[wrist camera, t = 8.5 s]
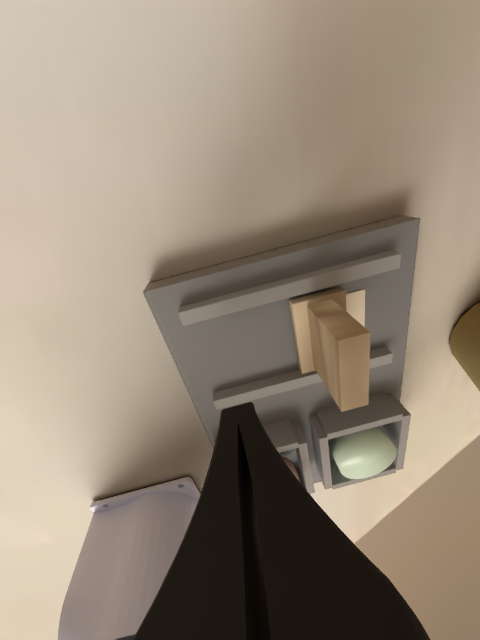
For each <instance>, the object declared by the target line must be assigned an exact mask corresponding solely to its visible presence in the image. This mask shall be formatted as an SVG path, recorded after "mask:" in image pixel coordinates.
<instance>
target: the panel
mask: <svg viewBox="0 0 480 640" xmlns="http://www.w3.org/2000/svg"><path fill="white" fill-rule="evenodd" d="M419 224H420V218H413V217H406V216H398V217H394V218H390V219H386V220H383V221H379V222H375V223H371V224H368V225H364V226H360V227H356V228H353V229H349V230H345V231H341V232H338V233H334V234H330V235H326V236H323V237H319V238H315V239H311V240H308V241H304V242H300V243H296V244H293V245H289V246H285V247H281V248H278V249H274V250H270V251H266V252H263V253H259V254H255V255H251V256H248V257H244V258H240V259H236V260H233V261H229V262H225V263H221V264H218V265H214V266H210V267H206V268H203V269H199V270H195V271H191V272H188V273H184V274H180V275H176V276H173V277H169V278H165V279H161V280H158V281H154V282H150V283H148V285H147V287H146V288H145V290H144V292H143V293H144V296H145V298H146V300H147V302H148V304H149V307H150V309H151V311H152V313H153V315H154V318H155V320H156V322H157V324H158V326H159V329H160V331H161V333H162V335H163V337H164V340H165V342H166V344H167V346H168V348H169V351H170V353H171V355H172V357H173V359H174V362H175V364H176V366H177V368H178V370H179V373H180V375H181V377H182V379H183V381H184V384H185V386H186V388H187V390H188V392H189V395H190V397H191V399H192V401H193V403H194V406H195V408H196V410H197V412H198V414H199V417H200V419H201V421H202V423H203V425H204V428H205V430H206V432H207V434H208V436H209V439H210V441H211V443H212V445H213V447H215V443H216V438H217V433H218V428H219V422H220V415H221V411H222V410H223V409H226V408H229V407H233V406H237V405H240V404H244V403H248V402H252V403H253V404H254V408H255V411H256V413H257V416H258V418H259V420H260V422H261V424H262V426H263V428H264V430H265V432H266V433H267V435H268V437H269V438H270V440H271V442H272V443H273V445H274V446H275V448H276V450H277V451H278V453H279V454H280V456H281V457H285V458H287V459H289V460H291V461H292V462H293V464H294V466H295V469H296V472H297V475H298V478H299V481H300V483H301V484H302V486H303V487H304V488H305V489H306V491H307V492H308V493H309V494H310V493H314V492H315V491H314V485H313V483H317V482H321V481H322V483H323V485H324V488H325V489H329V488H332V489H336V488H340V487H344V486H347V485H351V484H355V483H359V482H362V481H366V480H370V479H373V478H377V477H381V476H385V475H388V474H392V473H396V470H400V469H403V465H404V458H405V452H406V445H407V438H408V431H409V424H410V418H411V414H410V413H409V412H408V411H407V410H406V409H405V408H404V407H403V405H402V404H401V403H400V394H401V385H402V376H403V367H404V358H405V349H406V341H407V332H408V323H409V314H410V305H411V296H412V287H413V278H414V269H415V260H416V251H417V242H418V233H419ZM340 286H341V287H342V288H343V289H345V290H346V312H347V313H349V314H350V315H351V316H352V317H353V318H354V319H356V320H357V321H358V322H359V323H360V324H361V325H363V326H364V327H365V328H366V329H367V330H368V331H369V332H370V365H369V403H368V405H366V406H362V407H358V408H354V409H351V410H347V411H343V412H341V410H340V409H339V407H338V405H337V404H336V402H335V401H334V399H333V397H332V396H331V394H330V392H329V391H328V389H327V388H326V386H325V384H324V383H323V381H322V379H321V378H320V376H319V375H318V373H317V371H316V370H315V371H311V372H308V373H304V374H302V373H301V371H300V369H299V365H298V358H297V351H296V345H295V338H294V331H293V325H292V318H291V311H290V305H289V300H292V299H296V298H299V297H303V296H307V295H310V294H314V293H318V292H322V291H325V290H329V289H333V288H337V287H340ZM377 426H380V427H381V428H382V430H383V431H384V432H385V434H386V435H387V436H388V438H389V439H390V440H391V442H392V443H393V444H394V446H395V447H396V449H397V455H396V458H395V460H394V461H393V463H392V464H391V465H390V466H389V467H388V468H386V469H385V470H383V471H382V472H380V473H378V474H376V475H374V476H371V477H368V478H363V479H350V478H347V477H345V476H343V475H342V474H341V472H340V470H339V468H338V466H337V464H336V462H335V460H334V458H333V456H332V454H331V452H330V449H329V447H328V440H329V439H333V438H336V437H340V436H344V435H347V434H351V433H355V432H359V431H362V430H366V429H370V428H373V427H377Z"/></svg>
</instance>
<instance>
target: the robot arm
mask: <svg viewBox="0 0 480 640" xmlns="http://www.w3.org/2000/svg"><path fill="white" fill-rule="evenodd" d="M90 510H91V511H92V512H93V513H94V514H93V517H92V520H91V523H90V526H89V529H88V532H87V535H86V538H85V540H84V543H83V546H82V549H81V552H80V555H79V558H78V561H77V564H76V567H75V570H74V573H73V576H72V579H71V581H70V584H69V587H68V590H67V593H66V596H65V600H64V603H63V607H62V611H61V616H60V622H59V631H58V640H430V638H429V636H428V635H427V633H426V631H425V629H424V628H423V626H422V624H421V623H420V621H419V620H418V618H417V617H416V615H415V614H414V612H413V611H412V609H411V608H410V607H409V605H408V604H407V602H406V601H405V600H404V598H403V597H402V596H401V594H400V593H399V592H398V591H397V589H396V588H395V587H394V585H393V584H392V582H391V581H390V580H389V579H388V578H387V577H386V576H385V575H384V574H383V573H382V572H381V571H380V570H379V569H378V568H377V567H376V566H375V565H374V564H373V563H372V562H371V561H370V560H369V559H368V558H367V557H366V556H365V555H364V554H363V553H362V552H361V551H360V550H359V549H358V548H357V547H356V546H355V545H354V544H353V542H352V541H351V540H350V539H349V538H348V537H347V536H346V535H345V534H344V533H343V532H342V531H341V530H340V529H339V528H338V526H337V525H336V524H335V523H334V522H333V521H332V520H331V519H330V517H329V516H328V515H327V514H326V513H325V512H324V511H323V510H322V508H321V507H320V506H319V505H318V504H317V503H316V502H315V500H314V499H313V498H312V497H311V495H310V494H309V493H308V492H307V491H306V489H305V488H304V487H303V486H302V484H301V483H300V482H299V480H298V479H297V478H296V477H295V475H294V474H293V473H292V471H291V470H290V468H289V467H288V466H287V464H286V463H285V461H284V460H283V458H282V457H281V456H280V454H279V453H278V451H277V450H276V448H275V446H274V445H273V443H272V442H271V440H270V438H269V437H268V435H267V433H266V432H265V430H264V428H263V426H262V424H261V422H260V420H259V418H258V416H257V413H256V411H255V408H254V404H253V403H252V402H248V403H244V404H240V405H237V406H233V407H229V408H226V409H223V410H222V411H221V415H220V422H219V428H218V433H217V438H216V443H215V447H214V451H213V455H212V459H211V462H210V466H209V469H208V472H207V476H206V479H205V482H204V485H203V488H202V491H201V494H200V492H199V491H198V489H197V487H196V486H195V484H194V482H193V480H192V479H191V478H189V477H185V478H181V479H177V480H174V481H170V482H166V483H162V484H159V485H155V486H151V487H148V488H144V489H140V490H136V491H133V492H129V493H125V494H121V495H118V496H114V497H110V498H107V499H103V500H99V501H95V502H93V503H92V504H91V506H90Z"/></svg>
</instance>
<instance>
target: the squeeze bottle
mask: <svg viewBox="0 0 480 640" xmlns="http://www.w3.org/2000/svg"><path fill="white" fill-rule="evenodd" d="M449 345H450V348H451V352H452V354H453V355H454V357H455V358H456V360H457V361H458V362H459V364H460V365H461V366H462V368H463V369H464V370H465V372H466V373H467V374H468V376H469V377H470V378H471V380H472V381H473V383H474V384H475V385H476V387H477V388H478V389H479V391H480V302H479V303H477V304H476V305H474V306H473V307H472V308H471V309H470V310H469V311H468V312H466V313H465V314H464V315H463V316H462V317H461V318H460V320H459V321H458V323H457V325H456V326H455V328H454V329H453V331H452V334H451V338H450V343H449Z"/></svg>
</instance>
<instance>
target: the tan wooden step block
mask: <svg viewBox="0 0 480 640" xmlns="http://www.w3.org/2000/svg"><path fill="white" fill-rule="evenodd" d="M289 305H290V311H291V318H292V325H293V331H294V338H295V345H296V351H297V358H298V365H299V369H300V371H301V373H302V374H304V373H308V372H311V371H315V370H316V371H317V373H318V375H319V376H320V378H321V379H322V381H323V383H324V384H325V386H326V388H327V389H328V391H329V392H330V394H331V396H332V397H333V399H334V401H335V402H336V404H337V405H338V407H339V409H340V410H341V412H343V411H347V410H351V409H354V408H358V407H362V406H366V405H368V403H369V365H370V332H369V331H368V330H367V329H366V328H365V327H364V326H363V325H361V324H360V323H359V322H358V321H357V320H356V319H354V318H353V317H352V316H351V315H350V314H349V313H347V312H346V290H345V289H343V288H342V287H341V286H340V287H337V288H333V289H329V290H325V291H322V292H318V293H314V294H310V295H307V296H303V297H299V298H296V299H292V300H289Z"/></svg>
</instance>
